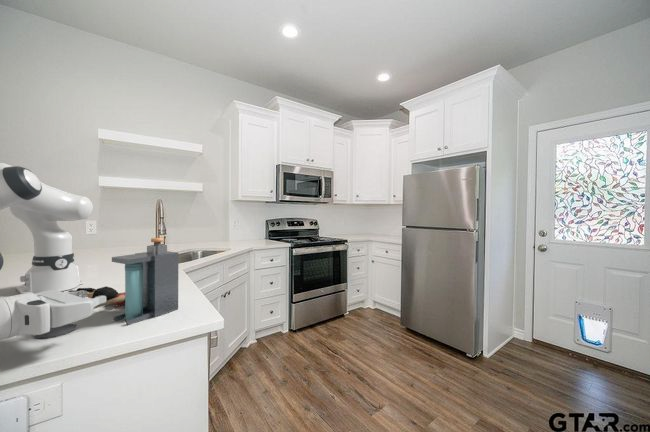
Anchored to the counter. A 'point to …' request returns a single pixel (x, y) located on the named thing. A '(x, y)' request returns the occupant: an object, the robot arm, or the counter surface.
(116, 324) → the counter surface
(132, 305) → the cartridge
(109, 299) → the figurine
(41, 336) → the pad
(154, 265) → the housing
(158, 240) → the plunger
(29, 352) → the counter surface
